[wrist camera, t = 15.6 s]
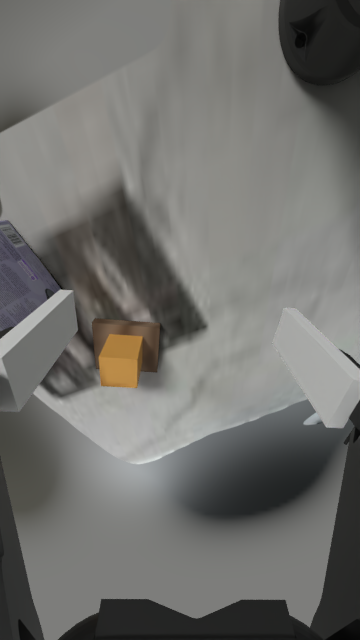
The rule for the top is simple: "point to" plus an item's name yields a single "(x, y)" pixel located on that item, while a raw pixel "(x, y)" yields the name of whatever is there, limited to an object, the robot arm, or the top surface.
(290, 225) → the top surface
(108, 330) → the base plate
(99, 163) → the top surface
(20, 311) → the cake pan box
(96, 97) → the top surface
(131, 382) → the orange cube block
